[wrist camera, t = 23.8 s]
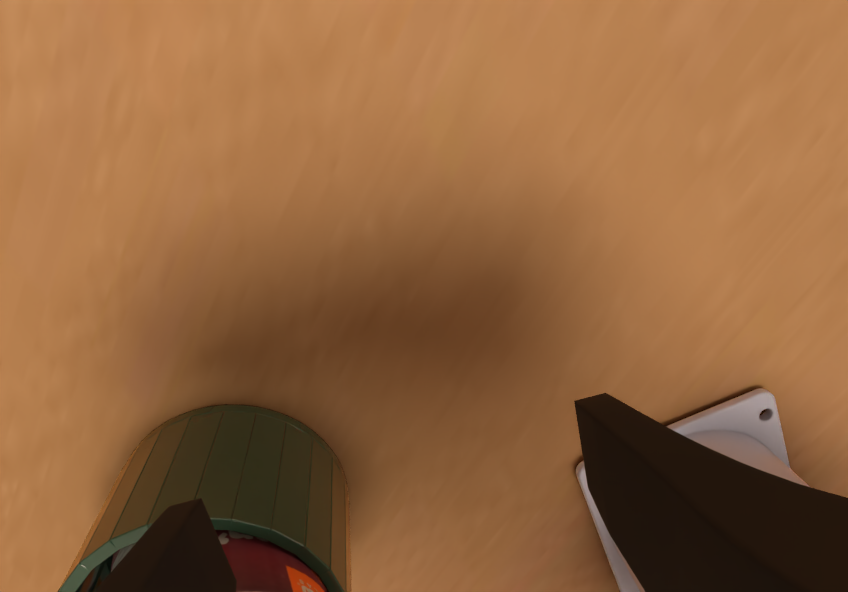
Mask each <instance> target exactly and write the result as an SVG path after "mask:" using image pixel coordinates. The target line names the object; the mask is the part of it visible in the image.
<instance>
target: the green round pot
mask: <svg viewBox="0 0 848 592" xmlns="http://www.w3.org/2000/svg"><path fill="white" fill-rule="evenodd" d="M199 498H202V500H203V503H204V505H205V507H206V510H207V512H208V515H209V517H210V519H211V522H212V524H213V526H214V529H215V530H229V531H233V532H237V533H241V534H245V535H249V536H253V537H257V538H262V539H265V540H267V541H269V542H271V543H273V544H275V545H277V546H279V547H281V548H283V549H285V550H287V551H289V552H291V553H293V554H295V555H296V556H297V557H298V558H299V559H301V560H302V561H303V562H304V563H305V564H306V565H307V566H308V567H310V568H311V569H312V570H313V571H314V572H315V573H316V574H317V575H319V577H320V579H321V580H322V582H323V584H324V585H325V587H326V588H327V591H328V592H352V588H351V544H350V503H349V495H348V486H347V481H346V478H345V474H344V471H343V469H342V467H341V465H340V462H339V460H338V459H337V457H336V456H335V454H334V453H333V451H332V450H331V448H330V447H329V446H328V445H327V444H326V443H325V442H324V440H323V439H322V438H320V437H319V436H318V435H317V434H316V433H315V432H314V431H312V430H311V429H310V428H308V427H307V426H305V425H304V424H302V423H301V422H299V421H297V420H295V419H293V418H291V417H289V416H287V415H284V414H281V413H278V412H276V411H273V410H269V409H265V408H260V407H255V406H247V405H220V406H210V407H206V408H201V409H197V410H193V411H190V412H188V413H185V414H182V415H179V416H177V417H175V418H173V419H171V420H169V421H167V422H165V423H164V424H162V425H161V426H159V427H158V428H156V429H155V430H153V431H152V432H151V433H150V434H149V435H148V436H147V437H146V438H144V439H143V440H142V442H141V443H140V444H139V445H138V446H137V447H136V449H135V450H134V451H133V453H132V454H131V456H130V458H129V459H128V461H127V462H126V464H125V466H124V467H123V468H122V470H121V472H120V474H119V476H118V478H117V480H116V482H115V484H114V485H113V487H112V489H111V491H110V493H109V495H108V497H107V499H106V501H105V503H104V505H103V506H102V508H101V510H100V512H99V514H98V516H97V518H96V520H95V522H94V524H93V526H92V527H91V529H90V531H89V533H88V535H87V537H86V539H85V541H84V543H83V545H82V547H81V548H80V550H79V552H78V554H77V556H76V558H75V560H74V562H73V564H72V566H71V568H70V569H69V571H68V573H67V575H66V577H65V579H64V581H63V583H62V585H61V587H60V589H59V590H58V592H94V591H95V590H96V589H97V588H98V586H99V585H100V584H101V583H102V582H103V581H104V580H105V578H106V577H107V576H108V575H109V574H110V573H111V564H112V559H113V554H114V553H116V552H117V551H118V550H120V549H122V548H125V547H127V546H130V545H132V544H134V543H137V541H138V540H139V539H140V538H141V537H142V536H143V534H144V533H145V532H146V531H147V530H148V529H149V528H150V526H151V525H152V524H153V523H154V522H155V521H156V520H157V518H158V517H159V516H160V515H161V514H162V513H163V512H164V511H165V510H166V509H167V508H168V507H169V506H172V505H176V504H180V503H184V502H187V501H191V500H195V499H199Z"/></svg>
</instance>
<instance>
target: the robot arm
mask: <svg viewBox="0 0 848 592" xmlns="http://www.w3.org/2000/svg"><path fill="white" fill-rule="evenodd" d="M574 402H575V408H576V414H577V421H578V427H579V434H580V440H581V447H582V453H583V461H582V462H580V463H579V464H578V466H577V468H576V476H577V478H578V481H579V484H580V486H581V489H582V492H583V494H584V497H585V500H586V502H587V505H588V508H589V510H590V513H591V516H592V518H593V521H594V524H595V526H596V529H597V532H598V534H599V537H600V540H601V542H602V545H603V548H604V550H605V553H606V556H607V558H608V561H609V564H610V566H611V569H612V571H613V574H614V577H615V579H616V582H617V585H618V587H619V590H620V592H848V498H845V497H842V496H838V495H835V494H831V493H828V492H824V491H821V490H817V489H814V488H811V487H810V486H808V485H807V484H806V483H805V482H804V481H803V480H802V479H801V478H800V477H799V476H798V475H797V474H795V473H794V472H793V471H792V470H791V469H790V465H789V460H788V455H787V451H786V446H785V442H784V437H783V432H782V428H781V423H780V419H779V414H778V410H777V405H776V400H775V397H774V395H773V394H771V393H770V392H769V391H767V390H766V389H762V388H759V389H755V390H753V391H750V392H748V393H746V394H743V395H741V396H738V397H736V398H733V399H731V400H729V401H726V402H724V403H721V404H719V405H716V406H714V407H712V408H709V409H707V410H704V411H702V412H699V413H697V414H695V415H692V416H690V417H687V418H685V419H682V420H680V421H678V422H675V423H673V424H670V425H668V426H664V425H662V424H660V423H659V422H657V421H655V420H653V419H651V418H650V417H648V416H646V415H644V414H642V413H641V412H639V411H637V410H635V409H633V408H632V407H630V406H628V405H626V404H625V403H623V402H621V401H619V400H618V399H616V398H614V397H612V396H610V395H608V394H606V393H603V394H599V395H595V396H592V397H588V398H584V399H580V400H576V401H574ZM764 409H766V411H765V412H764V413H763V414H762V415H760V413H761V411H763V410H764ZM236 585H237V580H236V578H235V576H234V573H233V571H232V569H231V566H230V564H229V562H228V559H227V557H226V555H225V552H224V550H223V547H222V545H221V543H220V540H219V538H218V536H217V533H216V531H215V529H214V526H213V524H212V522H211V519H210V517H209V515H208V512H207V510H206V507H205V505H204V503H203V500H202V498H199V499H195V500H191V501H187V502H184V503H180V504H176V505H172V506H169V507H168V508H167V509H166V510H165V511H164V512H163V513H162V514H161V515H160V516H159V517H158V518H157V520H156V521H155V522H154V523H153V524H152V525H151V526H150V528H149V529H148V530H147V531H146V532H145V533H144V534H143V536H142V537H141V538H140V539H139V540H138V541H137V543H136V544H135V545H134V546H133V547H132V548H131V550H130V551H129V552H128V553H127V554H126V555H125V557H124V558H123V559H122V560H121V561H120V562H119V563H118V565H117V566H116V567H115V568H114V569H113V570H112V572H111V573H110V574H109V575H108V576H107V577H106V578H105V580H104V581H103V582H102V583H101V584H100V585H99V586H98V588H97V589H96V590H95V591H94V592H236Z"/></svg>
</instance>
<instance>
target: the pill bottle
mask: <svg viewBox="0 0 848 592" xmlns="http://www.w3.org/2000/svg"><path fill="white" fill-rule="evenodd" d="M215 531H216V533H217V536H218V538H219V540H220V543H221V545H222V547H223V550H224V552H225V555H226V557H227V559H228V562H229V564H230V566H231V569H232V571H233V573H234V576H235V578H236V580H237V585H236V592H328V591H327V588H326V587H325V585H324V584H323V582H322V580H321V579H320V577H319V575H317V574H316V573H315V572H314V571H313V570H312V569H311V568H310V567H308V566H307V565H306V564H305V563H304V562H303V561H302V560H301V559H299V558H298V557H297V556H296V555H295V554H293V553H291V552H289V551H287V550H285V549H283V548H281V547H279V546H277V545H275V544H273V543H271V542H269V541H267V540H265V539H262V538H257V537H253V536H249V535H245V534H241V533H237V532H233V531H229V530H215ZM135 544H136V543H134V544H132V545H130V546H127V547H125V548H122V549H120V550H118V551H117V552H116V553H114V554H113V559H112V564H111V572H112V570H113V569H114V568H115V567H116V566H117V565H118V563H119V562H120V561H121V560H122V559H123V558H124V557H125V555H126V554H127V553H128V552H129V551H130V550H131V548H132V547H133V546H134V545H135Z"/></svg>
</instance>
